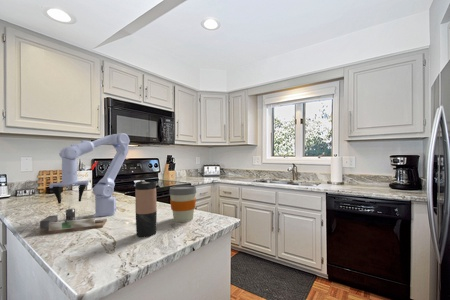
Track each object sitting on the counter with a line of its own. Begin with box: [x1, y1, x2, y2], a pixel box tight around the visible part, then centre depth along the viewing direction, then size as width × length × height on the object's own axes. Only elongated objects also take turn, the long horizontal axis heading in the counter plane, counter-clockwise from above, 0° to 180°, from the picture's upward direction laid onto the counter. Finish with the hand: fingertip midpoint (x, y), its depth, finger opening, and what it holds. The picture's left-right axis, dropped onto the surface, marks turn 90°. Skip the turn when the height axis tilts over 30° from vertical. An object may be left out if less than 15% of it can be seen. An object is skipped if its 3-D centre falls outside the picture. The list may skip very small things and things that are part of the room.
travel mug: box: [134, 180, 158, 238], centre depth 83 cm, size 8×8×20 cm
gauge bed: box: [39, 214, 108, 235], centre depth 92 cm, size 22×9×5 cm, turn 109°
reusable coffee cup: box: [168, 184, 197, 223], centre depth 101 cm, size 13×13×15 cm
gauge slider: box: [64, 208, 79, 225], centre depth 90 cm, size 4×8×6 cm, turn 19°
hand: (69, 202), depth 99 cm, fingers open, 7 cm apart
